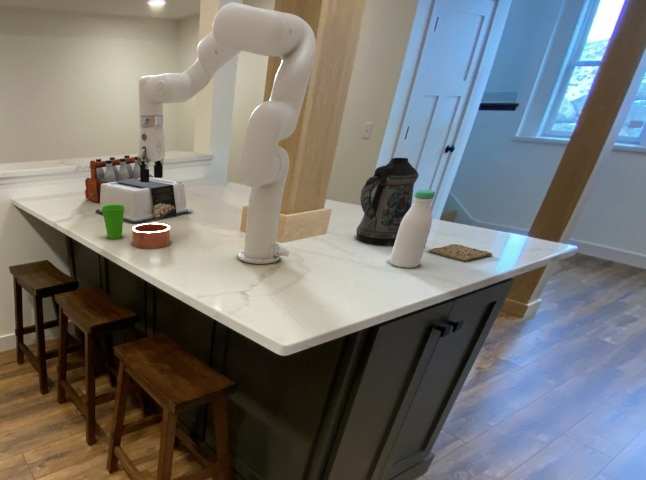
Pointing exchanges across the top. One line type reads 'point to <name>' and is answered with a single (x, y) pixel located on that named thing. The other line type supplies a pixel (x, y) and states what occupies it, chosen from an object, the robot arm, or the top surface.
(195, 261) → the top surface
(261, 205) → the robot arm
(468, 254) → the cookie
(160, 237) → the bowl
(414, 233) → the milk bottle
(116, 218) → the cup
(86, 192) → the milk bottle holder
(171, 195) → the cake box
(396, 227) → the beer stein
